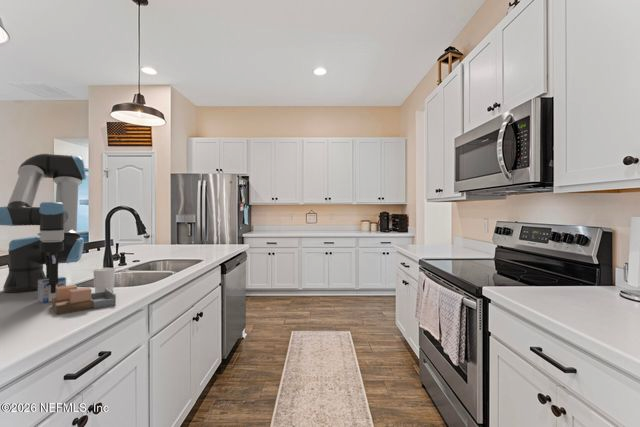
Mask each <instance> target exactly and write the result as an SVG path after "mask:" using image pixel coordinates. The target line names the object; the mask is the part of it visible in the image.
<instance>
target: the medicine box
mask: <svg viewBox="0 0 640 427" xmlns="http://www.w3.org/2000/svg"><path fill="white" fill-rule="evenodd" d="M54 281H55V280H54ZM47 284H49V278H48V279H41V280H38V290H37V301H38V302H40V303H42V304H45V303H46V304H47V303H49V302H48V285H47ZM61 286H67V278H66V277H65V276H58V283H57V287H61Z"/></svg>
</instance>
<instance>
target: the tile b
mask: <svg viewBox="0 0 640 427" xmlns="http://www.w3.org/2000/svg"><path fill="white" fill-rule="evenodd" d="M91 294H92V288H91V287H90V286H88V287H79V288H78V287H77V289H71V290H69V301H70V303H76V302H83V301H89V300H91Z"/></svg>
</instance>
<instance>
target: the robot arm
mask: <svg viewBox="0 0 640 427" xmlns="http://www.w3.org/2000/svg"><path fill="white" fill-rule="evenodd" d="M86 175H87V174H86V168H85V163H84V159H83V157H81V156H79V155H78V156H77V155H69V154H68V155H65V154H52V153H50V154H49V153H39V154H36V155H33V156H31V157H29V158H27V159H26V160H25V161H23V162H22V163H21V164H20V166H19V167H18V170H17V176H18V178H17V180H16V183H15V185H14V188H13V190H12V193H11V196H10V199H9V201H8V204H7V206H0V226H9V227H13V226H15V227H16V226H17V227H19V226H22V227H23V226H39V232H38V233H37V236H29V237H22V238H21V237H20V238H15V239H12V240H10V242H9V243H8V250H7V252H8V274H7V277H6V279H5V282H4V285H3V287H2V288H3V289H2V290H3V292H4V293H25V292H26V293H27V292H32V291H33V292H34V291H38V280H41V279H48V278H49V284H47V285H48V302H47V303H50V302H51V303H52V298H56V287H57V283H58V277H59V264H72V263H77V262H79V261H80V260H81V259H82V256H83V251H84V245H85V243H84V242H85V239H84V237H81V234H80V232H78V231H77V228H78V203H79V202H78V200H79V198H78V197H79V186H80V185H81V184H83V181H84V180H86V179H87V176H86ZM44 178H45V179H47V178H49V179H52V181H53V182H54V183H55V185H56V187H55V189H56V191H55V201H54V202H53V201H52V202H50V201H49V202H48V201H46V202H45V201H44V202H40V203H39V206H37V207H36V206H34V202H35V200H36V196H37V193H38V190H39V186H40V183H41V181H43V180H44ZM44 265H45V266H46V267H45V272H44ZM54 280H55V281H54Z"/></svg>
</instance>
